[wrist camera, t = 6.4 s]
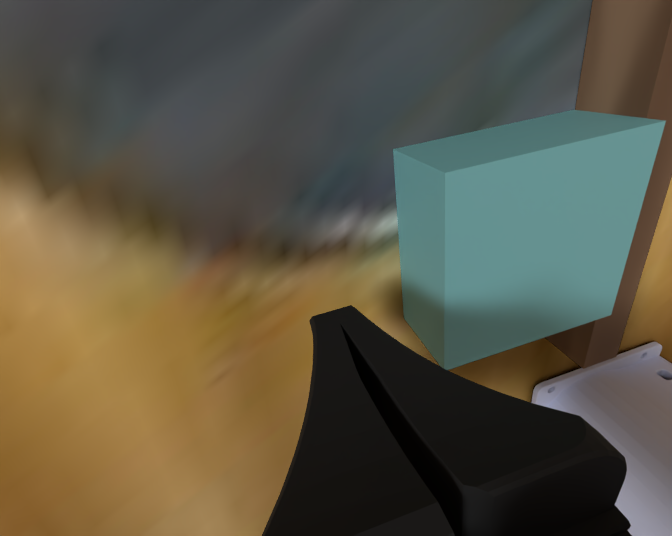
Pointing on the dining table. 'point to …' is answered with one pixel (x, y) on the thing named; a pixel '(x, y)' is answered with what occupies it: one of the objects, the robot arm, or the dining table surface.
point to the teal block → (518, 228)
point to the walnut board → (636, 101)
